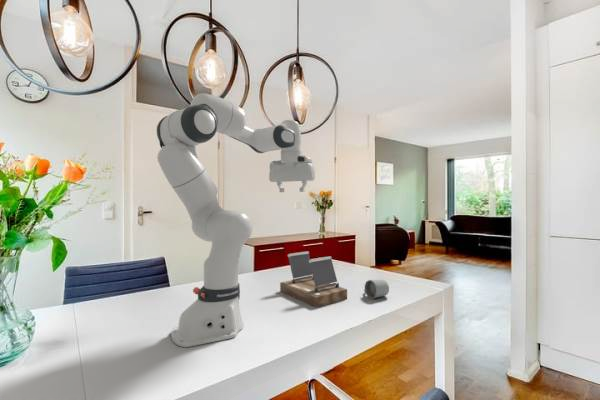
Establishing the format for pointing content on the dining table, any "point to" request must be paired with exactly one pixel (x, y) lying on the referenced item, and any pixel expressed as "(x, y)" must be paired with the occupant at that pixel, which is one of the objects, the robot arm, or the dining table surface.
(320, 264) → the lever slate
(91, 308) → the dining table surface
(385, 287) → the ceramic mug
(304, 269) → the grey board
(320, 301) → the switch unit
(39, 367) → the dining table surface
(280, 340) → the dining table surface
